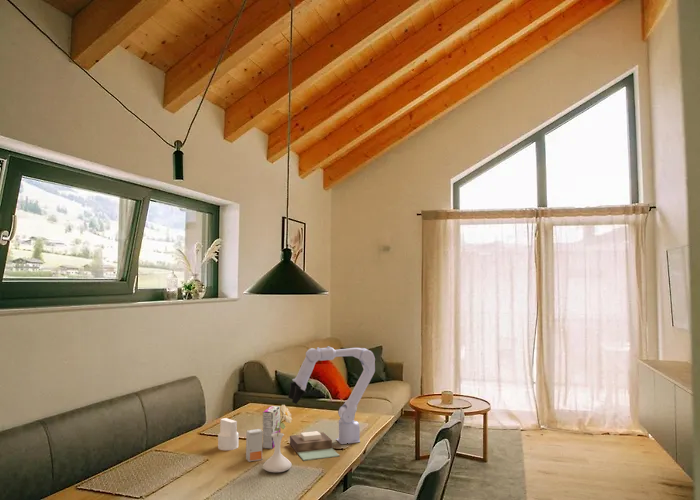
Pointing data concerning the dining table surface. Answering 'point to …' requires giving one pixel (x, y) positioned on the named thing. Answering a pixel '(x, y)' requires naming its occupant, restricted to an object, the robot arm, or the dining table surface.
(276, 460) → the flower in vase
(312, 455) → the mat
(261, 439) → the skincare box
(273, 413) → the candy bar box
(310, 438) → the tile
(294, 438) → the brown flat block
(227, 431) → the cylinder with rectangular tab
